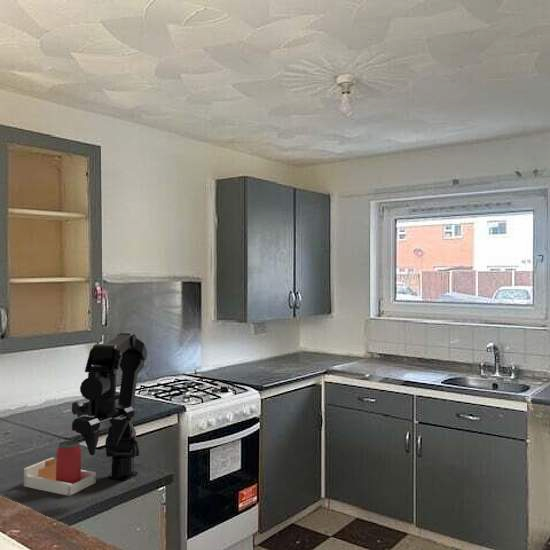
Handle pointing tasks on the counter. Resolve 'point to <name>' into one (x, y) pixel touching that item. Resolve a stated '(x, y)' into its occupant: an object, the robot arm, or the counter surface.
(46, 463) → the pusher
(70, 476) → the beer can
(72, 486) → the white tray
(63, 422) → the counter surface
